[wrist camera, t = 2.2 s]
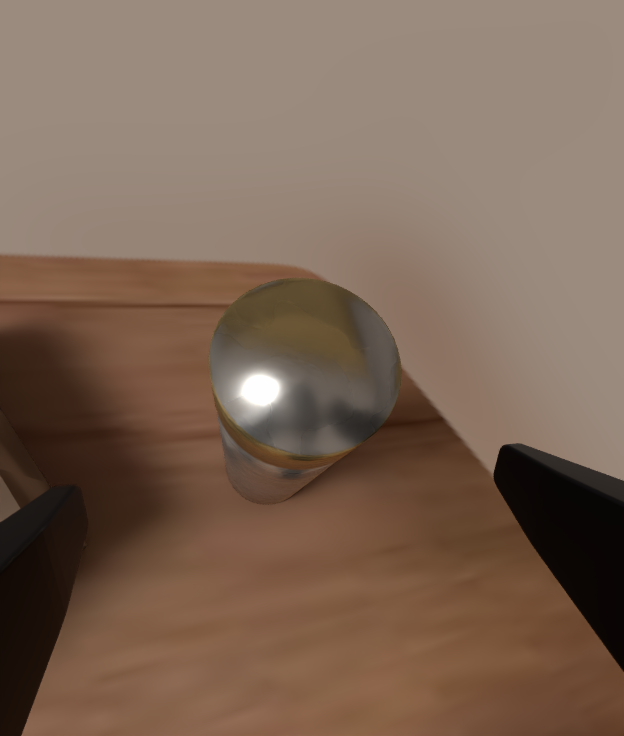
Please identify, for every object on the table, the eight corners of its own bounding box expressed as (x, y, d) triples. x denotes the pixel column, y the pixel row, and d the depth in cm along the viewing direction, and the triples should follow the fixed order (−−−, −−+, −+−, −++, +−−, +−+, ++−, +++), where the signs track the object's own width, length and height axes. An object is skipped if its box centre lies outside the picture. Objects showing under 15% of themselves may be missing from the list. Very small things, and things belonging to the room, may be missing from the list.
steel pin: (325, 467, 19) (438, 376, 8) (260, 524, 18) (296, 502, 7) (274, 405, 20) (317, 250, 9) (208, 455, 18) (166, 338, 8)
